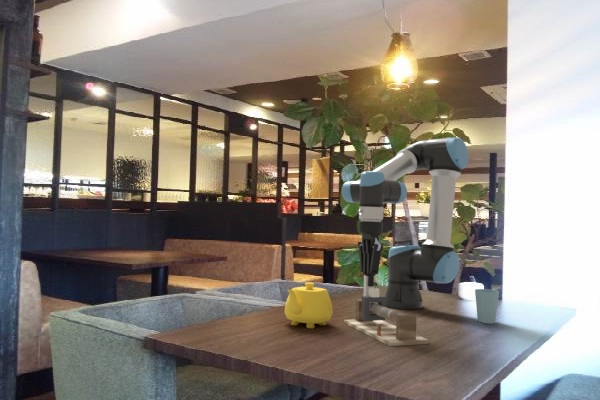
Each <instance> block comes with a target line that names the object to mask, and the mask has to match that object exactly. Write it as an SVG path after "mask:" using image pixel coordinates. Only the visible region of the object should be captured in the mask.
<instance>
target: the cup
mask: <svg viewBox="0 0 600 400" xmlns="http://www.w3.org/2000/svg"><path fill="white" fill-rule="evenodd" d="M474 294H475V304H476V305H475V306H476V316H477V322H478V321H479V322H478V323H481V322H482V323H483V324H496V316H497V310H498V304H499V303H498V302H499V297H500V291H499V290H496V289H495V290H494V289H488V288H487V289H486V288H485V289H484V288H479V289H474Z"/></svg>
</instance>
